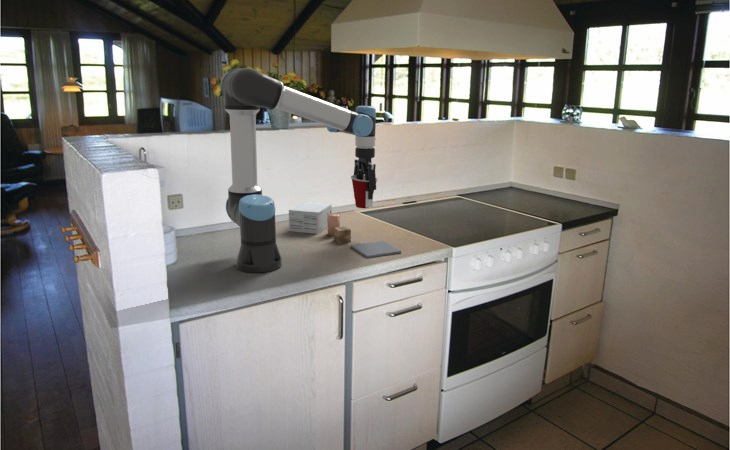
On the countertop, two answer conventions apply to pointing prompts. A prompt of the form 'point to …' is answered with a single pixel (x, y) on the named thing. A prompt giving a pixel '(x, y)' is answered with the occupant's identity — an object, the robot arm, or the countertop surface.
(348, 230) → the walnut block
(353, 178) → the plastic cup
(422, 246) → the countertop surface
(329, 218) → the pink cylinder
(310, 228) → the supplement box
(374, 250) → the mat
